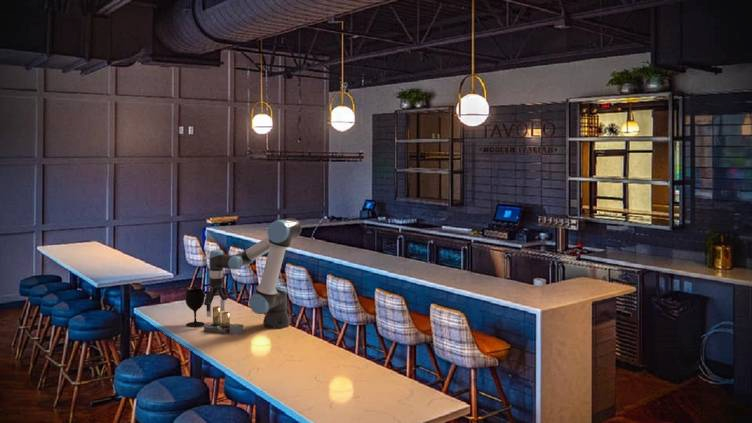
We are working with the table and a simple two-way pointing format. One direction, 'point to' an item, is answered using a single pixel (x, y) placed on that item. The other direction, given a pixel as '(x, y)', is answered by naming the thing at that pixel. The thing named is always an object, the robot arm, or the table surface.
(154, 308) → the table surface
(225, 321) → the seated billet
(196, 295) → the wine glass
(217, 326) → the grey flat frame
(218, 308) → the loose billet
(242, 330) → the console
